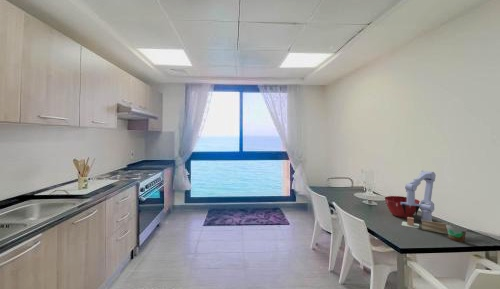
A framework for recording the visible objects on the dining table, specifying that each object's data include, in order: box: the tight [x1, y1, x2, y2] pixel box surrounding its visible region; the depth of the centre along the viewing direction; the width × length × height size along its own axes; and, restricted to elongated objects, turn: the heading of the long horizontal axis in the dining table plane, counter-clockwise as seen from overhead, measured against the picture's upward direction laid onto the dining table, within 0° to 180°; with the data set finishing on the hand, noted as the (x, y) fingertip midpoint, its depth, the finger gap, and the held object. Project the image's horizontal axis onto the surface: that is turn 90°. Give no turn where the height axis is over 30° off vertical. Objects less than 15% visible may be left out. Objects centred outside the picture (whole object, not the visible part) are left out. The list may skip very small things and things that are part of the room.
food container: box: [446, 222, 468, 243], centre depth 176 cm, size 12×6×10 cm, turn 21°
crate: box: [421, 220, 451, 235], centre depth 197 cm, size 13×18×4 cm
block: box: [406, 216, 415, 226], centre depth 207 cm, size 4×4×6 cm
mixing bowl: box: [384, 195, 421, 219], centre depth 234 cm, size 28×28×16 cm
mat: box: [400, 221, 420, 229], centre depth 207 cm, size 12×12×1 cm
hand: (410, 214), depth 207 cm, fingers open, 7 cm apart
